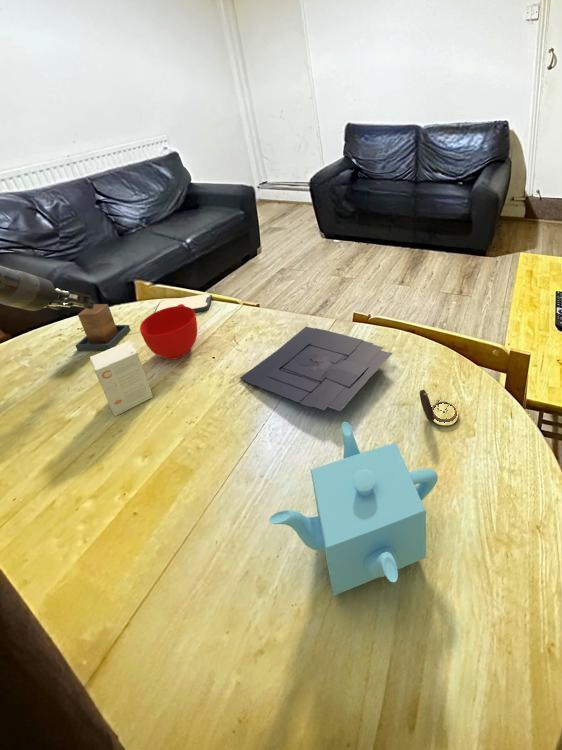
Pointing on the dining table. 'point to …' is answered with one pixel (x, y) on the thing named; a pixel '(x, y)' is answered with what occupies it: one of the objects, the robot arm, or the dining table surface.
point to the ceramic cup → (170, 331)
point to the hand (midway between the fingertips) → (76, 305)
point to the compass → (429, 410)
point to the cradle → (86, 346)
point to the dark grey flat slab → (318, 368)
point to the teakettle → (365, 514)
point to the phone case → (188, 302)
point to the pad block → (98, 324)
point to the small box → (121, 377)
